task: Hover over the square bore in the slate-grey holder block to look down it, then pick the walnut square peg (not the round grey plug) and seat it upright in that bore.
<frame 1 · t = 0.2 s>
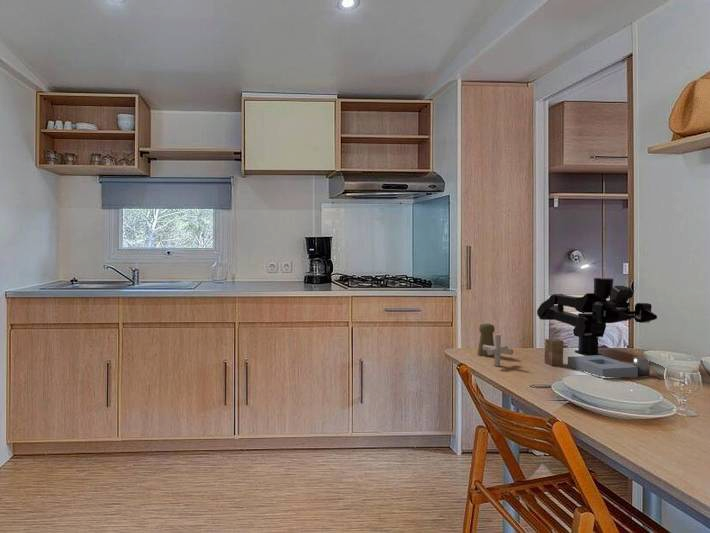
hand: (643, 317, 156), 17 cm above the table, tool horizontal, fingers open, 9 cm apart
square peg: (553, 364, 165), on the table
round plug: (640, 374, 153), on the table
bore block: (601, 371, 156), on the table
cork: (486, 355, 178), on the table
pipe connector: (497, 366, 163), on the table
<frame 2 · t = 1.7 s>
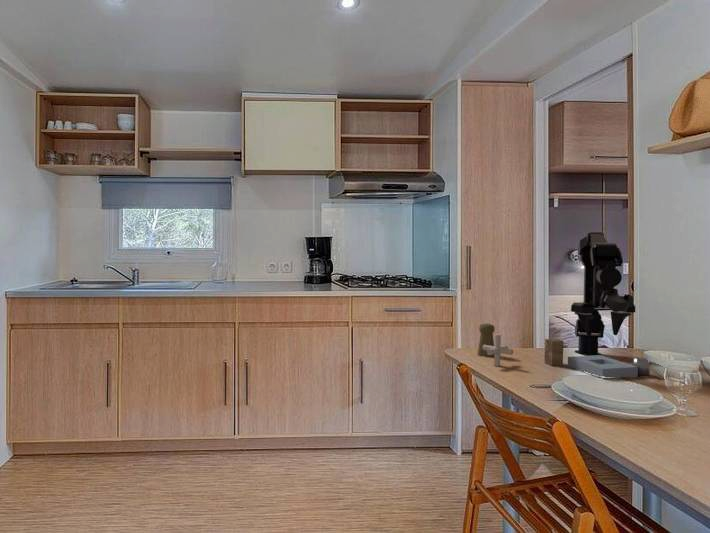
hand: (602, 335, 156), 11 cm above the table, tool pointing down, fingers open, 9 cm apart
nothing on the table moved.
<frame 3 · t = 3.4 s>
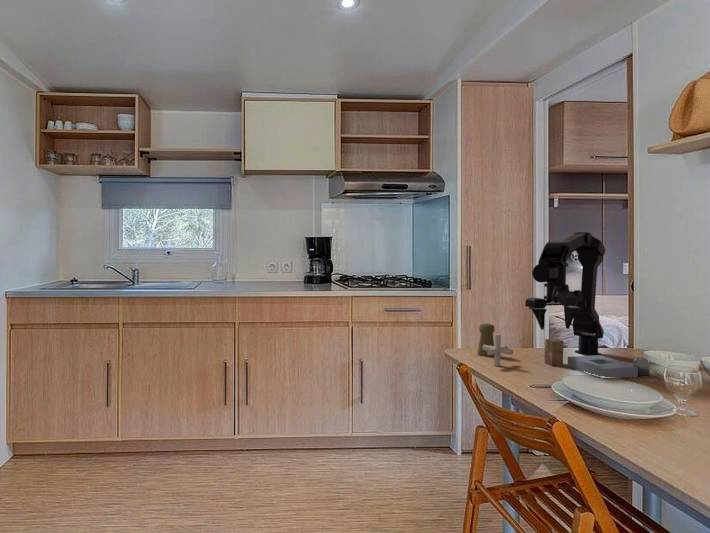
hand: (555, 329, 164), 12 cm above the table, tool pointing down, fingers open, 9 cm apart
nothing on the table moved.
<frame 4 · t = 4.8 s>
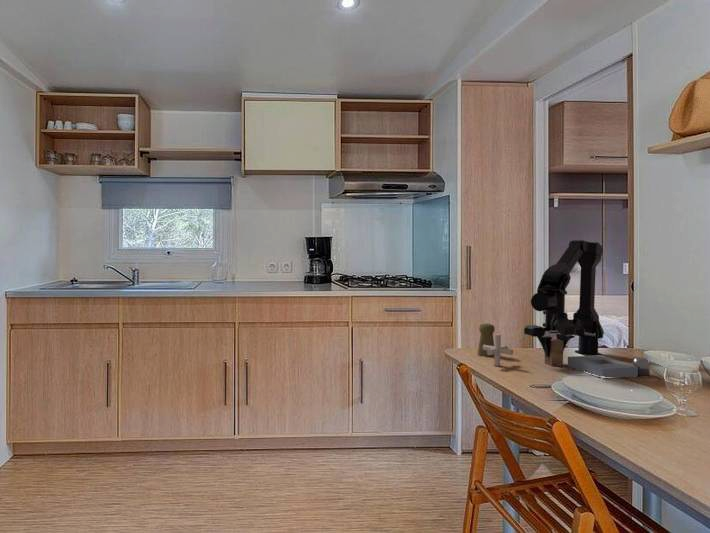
hand: (553, 356, 165), 3 cm above the table, tool pointing down, fingers closed on square peg, 4 cm apart
square peg: (553, 364, 165), on the table, touching gripper
everything else where it was.
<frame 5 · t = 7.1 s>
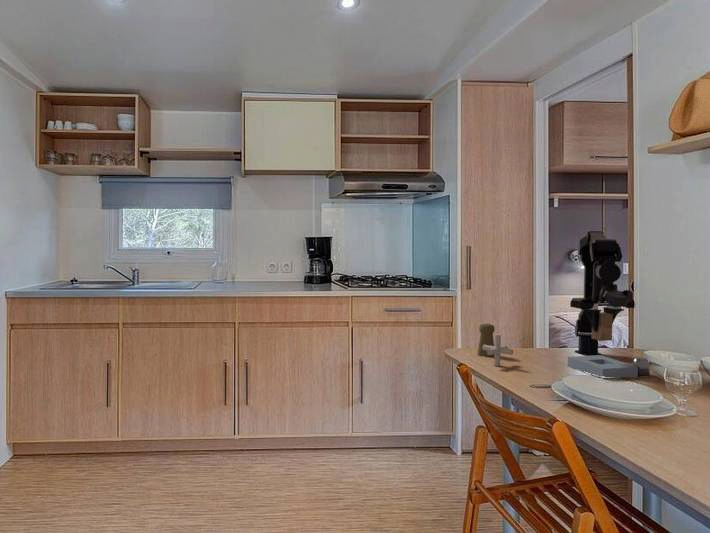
hand: (601, 331, 156), 12 cm above the table, tool pointing down, fingers closed on square peg, 4 cm apart
square peg: (601, 339, 156), point 10 cm above the table, touching gripper
everything else where it was.
when the fingers open (4 cm above the table, at t = 9.3 s): square peg drops 1 cm, resting in bore block.
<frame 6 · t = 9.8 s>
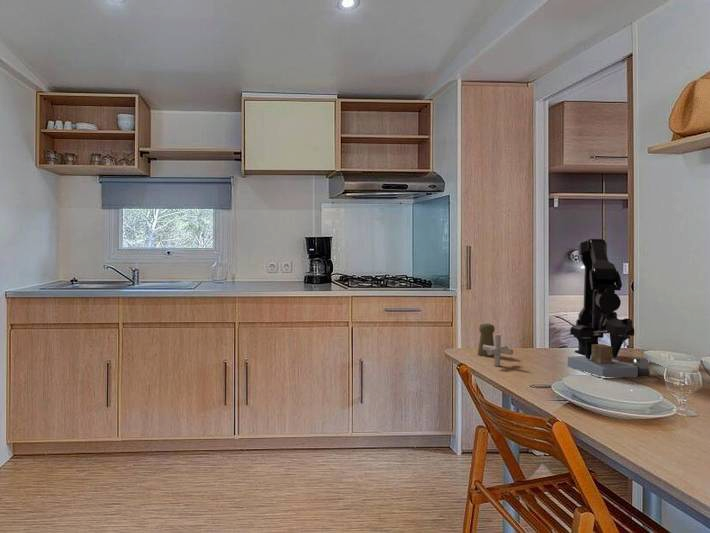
hand: (601, 358, 156), 4 cm above the table, tool pointing down, fingers open, 9 cm apart
square peg: (601, 371, 156), resting in bore block
everything else where it was.
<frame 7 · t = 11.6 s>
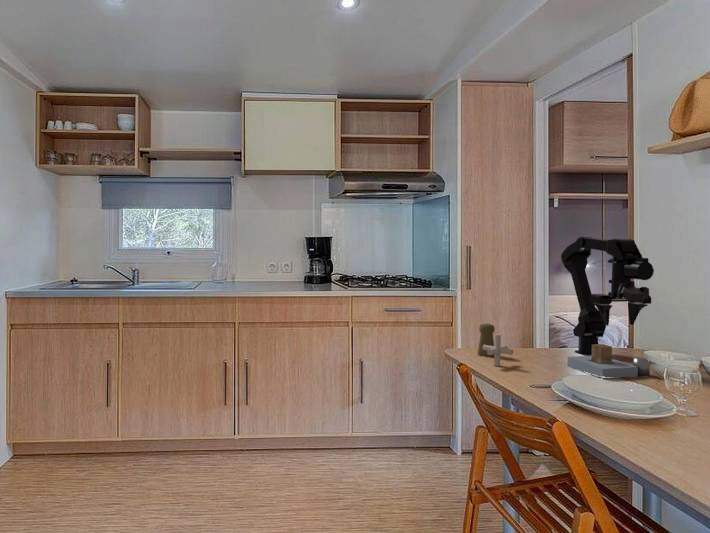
hand: (619, 325, 166), 13 cm above the table, tool pointing down, fingers open, 9 cm apart
nothing on the table moved.
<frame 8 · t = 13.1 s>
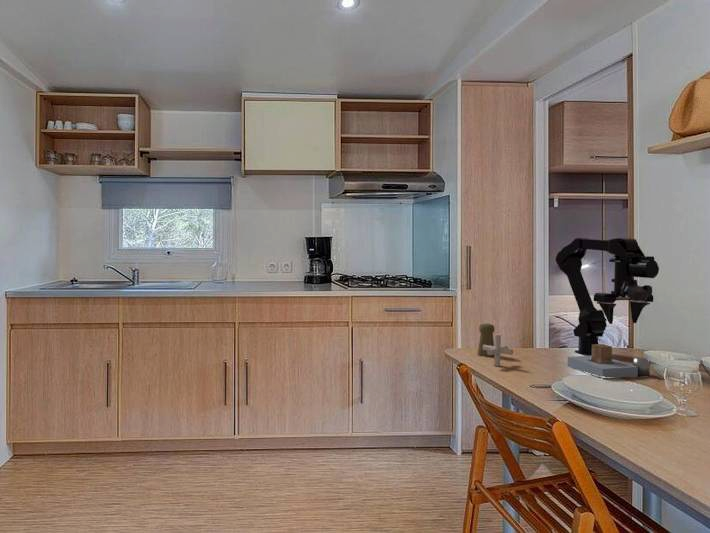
hand: (622, 323, 168), 13 cm above the table, tool pointing down, fingers open, 9 cm apart
nothing on the table moved.
at the end: square peg 0.0 cm off-centre on the bore block, point 0.0 cm above the bore block's base; square peg tilted 0°; the gripper is holding nothing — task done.
